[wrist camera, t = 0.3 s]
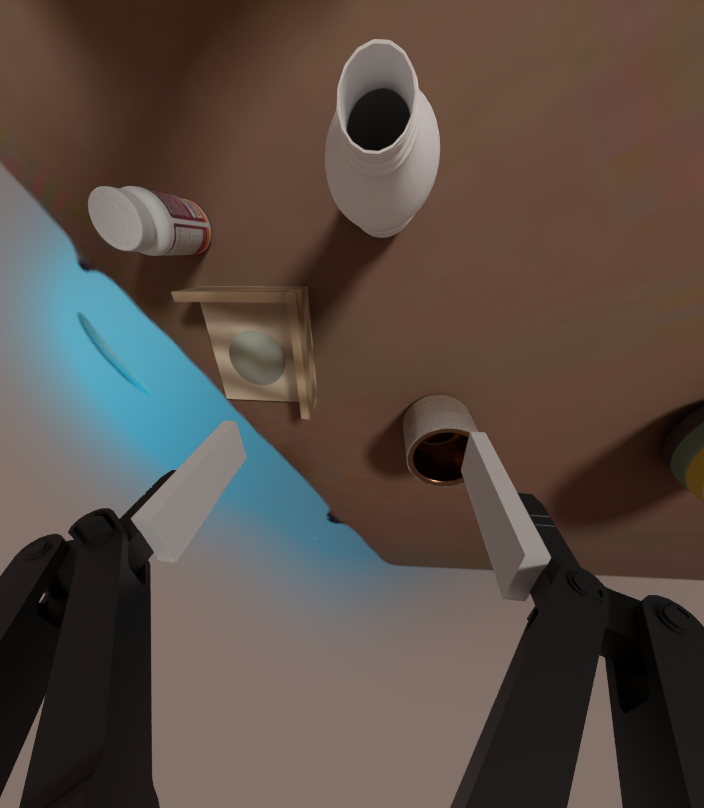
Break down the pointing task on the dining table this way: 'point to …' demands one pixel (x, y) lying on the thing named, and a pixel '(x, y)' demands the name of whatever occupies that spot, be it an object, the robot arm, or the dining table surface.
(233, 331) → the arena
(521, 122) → the dining table surface
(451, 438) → the planter
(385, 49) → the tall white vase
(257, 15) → the dining table surface
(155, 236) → the pill bottle
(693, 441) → the vase
